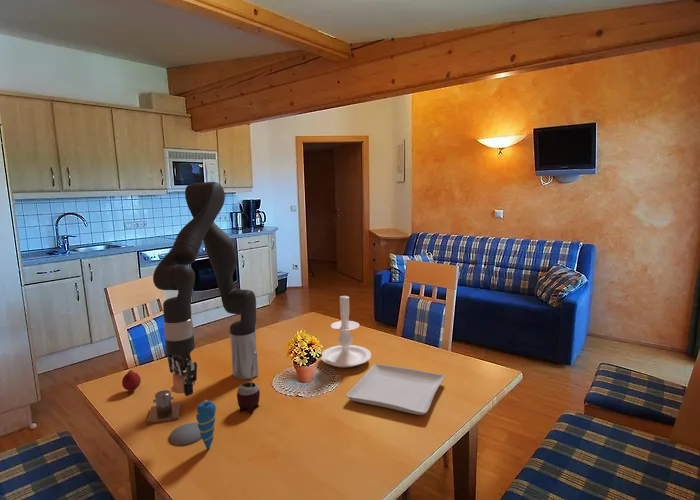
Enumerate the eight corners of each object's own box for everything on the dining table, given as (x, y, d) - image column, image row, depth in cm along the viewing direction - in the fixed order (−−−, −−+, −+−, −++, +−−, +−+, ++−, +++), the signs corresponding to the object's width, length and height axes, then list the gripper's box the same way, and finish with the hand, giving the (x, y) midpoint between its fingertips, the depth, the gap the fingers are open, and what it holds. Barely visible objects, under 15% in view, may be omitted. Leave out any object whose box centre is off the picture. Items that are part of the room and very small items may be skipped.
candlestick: (370, 348, 182) (370, 285, 177) (371, 373, 157) (370, 302, 153) (323, 348, 182) (322, 286, 178) (317, 373, 158) (315, 302, 153)
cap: (198, 387, 119) (198, 372, 119) (176, 396, 115) (175, 380, 114) (189, 382, 123) (189, 367, 122) (167, 390, 118) (166, 374, 117)
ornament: (202, 443, 117) (197, 394, 114) (220, 442, 117) (216, 392, 115) (196, 455, 112) (192, 404, 109) (216, 454, 112) (212, 402, 110)
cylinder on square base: (181, 404, 138) (179, 384, 137) (178, 419, 129) (176, 398, 128) (151, 409, 135) (149, 389, 134) (146, 424, 127) (144, 403, 125)
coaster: (206, 422, 127) (206, 420, 127) (205, 441, 118) (205, 439, 118) (171, 428, 124) (171, 426, 124) (167, 448, 115) (167, 446, 115)
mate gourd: (240, 417, 130) (237, 372, 127) (235, 405, 137) (232, 362, 134) (264, 410, 133) (261, 366, 131) (257, 399, 140) (255, 357, 138)
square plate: (445, 383, 149) (445, 373, 149) (426, 424, 125) (426, 412, 124) (375, 370, 160) (375, 361, 160) (344, 405, 136) (344, 394, 135)
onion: (133, 396, 144) (131, 374, 143) (119, 394, 145) (116, 373, 144) (145, 387, 150) (142, 367, 148) (131, 386, 151) (128, 365, 149)
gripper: (204, 337, 114) (208, 394, 117) (180, 325, 124) (185, 379, 127) (177, 345, 109) (182, 405, 111) (155, 332, 118) (160, 388, 121)
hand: (184, 391), depth 119 cm, fingers closed on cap, 5 cm apart
